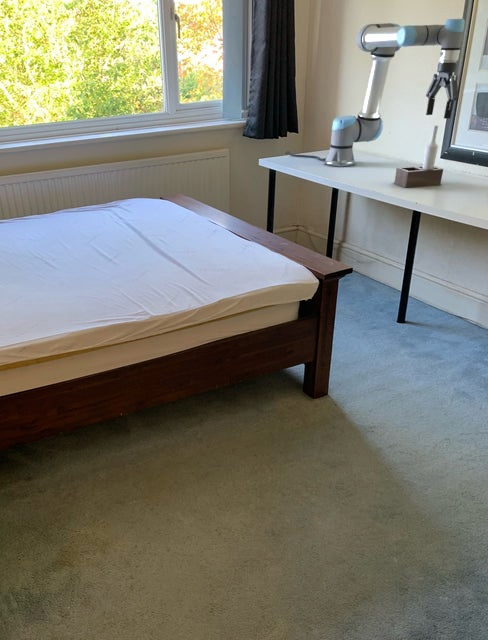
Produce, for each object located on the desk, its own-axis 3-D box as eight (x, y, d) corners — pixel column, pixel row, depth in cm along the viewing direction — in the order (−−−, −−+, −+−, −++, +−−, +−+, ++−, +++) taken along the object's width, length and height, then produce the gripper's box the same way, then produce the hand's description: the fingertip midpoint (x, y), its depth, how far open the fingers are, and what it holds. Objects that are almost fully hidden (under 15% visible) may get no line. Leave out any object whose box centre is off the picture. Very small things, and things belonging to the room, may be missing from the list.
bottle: (424, 185, 275) (435, 126, 261) (416, 182, 279) (427, 125, 265) (433, 183, 276) (444, 125, 263) (425, 181, 280) (436, 124, 267)
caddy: (394, 183, 279) (396, 167, 275) (428, 180, 282) (431, 165, 279) (405, 187, 271) (408, 171, 267) (440, 184, 274) (443, 169, 271)
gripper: (423, 61, 260) (414, 113, 271) (458, 63, 240) (447, 120, 251) (438, 60, 262) (429, 113, 273) (474, 62, 241) (462, 119, 252)
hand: (437, 116), depth 262 cm, fingers open, 13 cm apart
